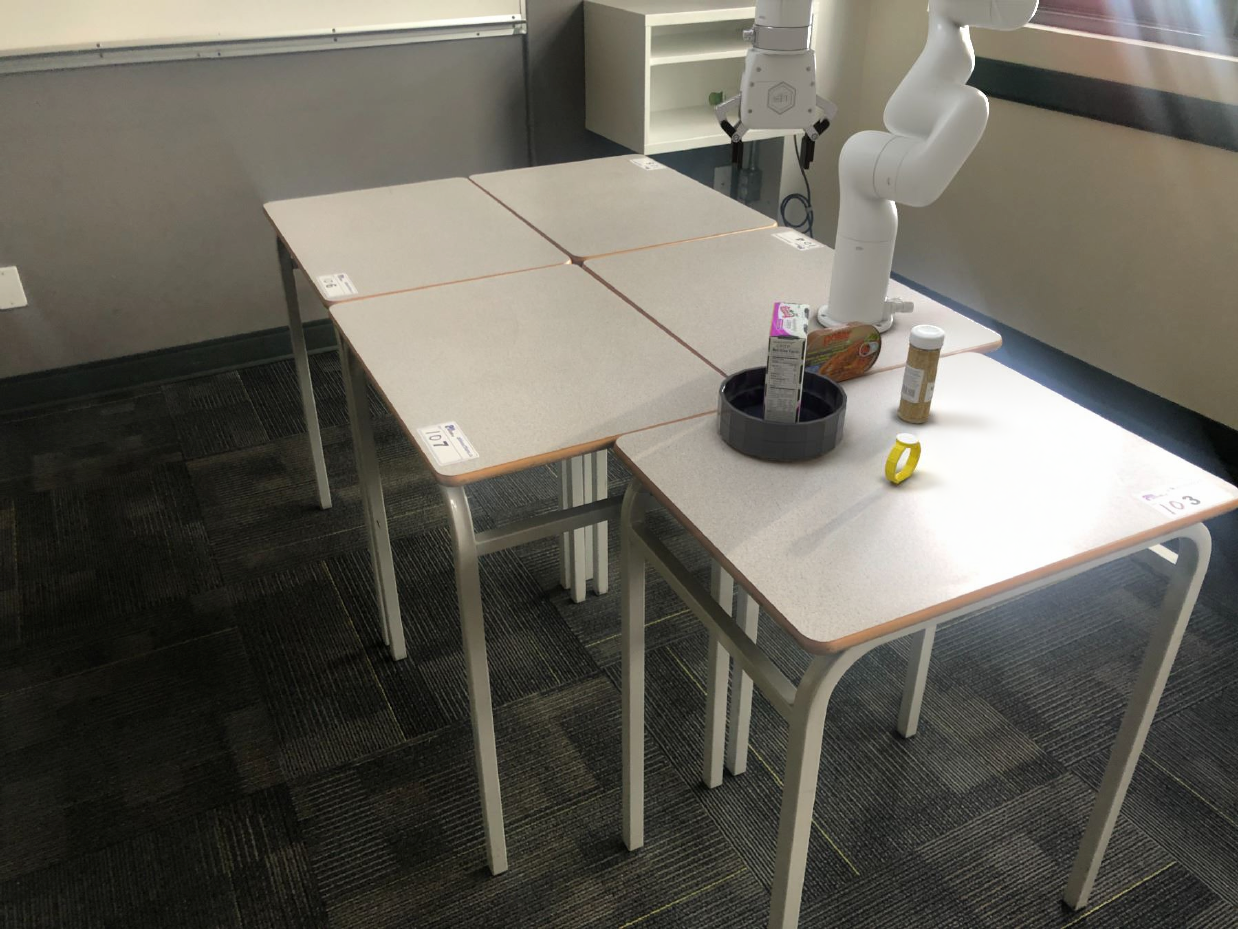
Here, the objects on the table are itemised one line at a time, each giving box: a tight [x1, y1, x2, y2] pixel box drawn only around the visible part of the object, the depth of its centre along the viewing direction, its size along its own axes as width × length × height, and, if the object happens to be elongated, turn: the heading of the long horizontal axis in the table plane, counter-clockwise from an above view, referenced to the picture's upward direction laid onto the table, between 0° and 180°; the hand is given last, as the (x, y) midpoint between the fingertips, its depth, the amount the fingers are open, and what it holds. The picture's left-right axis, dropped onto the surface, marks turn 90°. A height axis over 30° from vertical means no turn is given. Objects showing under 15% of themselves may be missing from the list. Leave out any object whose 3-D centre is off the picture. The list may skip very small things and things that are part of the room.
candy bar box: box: [763, 301, 810, 423], centre depth 133 cm, size 11×5×16 cm, turn 169°
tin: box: [804, 321, 883, 383], centre depth 150 cm, size 15×3×8 cm, turn 117°
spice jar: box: [896, 324, 946, 424], centre depth 138 cm, size 5×5×13 cm
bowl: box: [716, 365, 848, 462], centre depth 136 cm, size 17×17×6 cm
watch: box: [884, 432, 922, 484], centre depth 126 cm, size 6×3×6 cm, turn 133°
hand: (770, 167), depth 142 cm, fingers open, 9 cm apart
